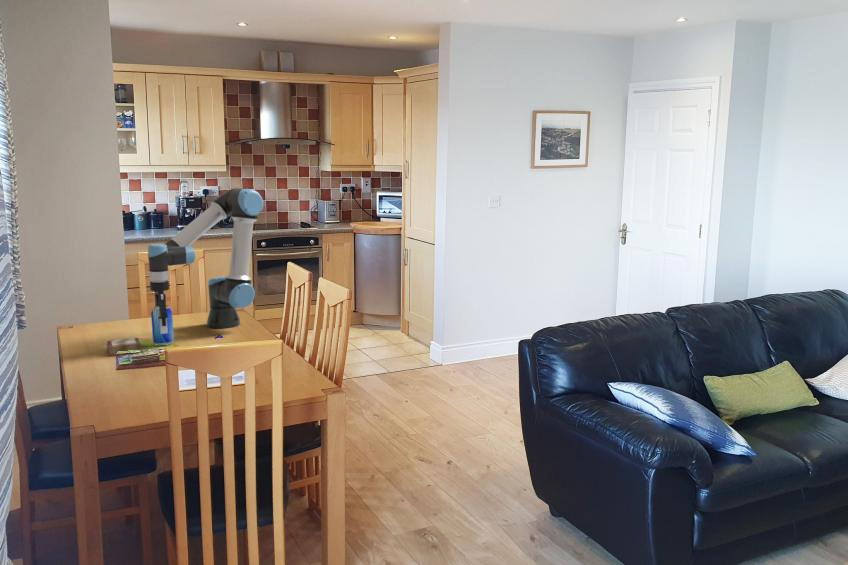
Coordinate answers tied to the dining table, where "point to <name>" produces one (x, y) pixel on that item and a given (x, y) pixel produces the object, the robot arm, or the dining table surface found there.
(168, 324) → the beer can
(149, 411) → the dining table surface
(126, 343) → the base slab
